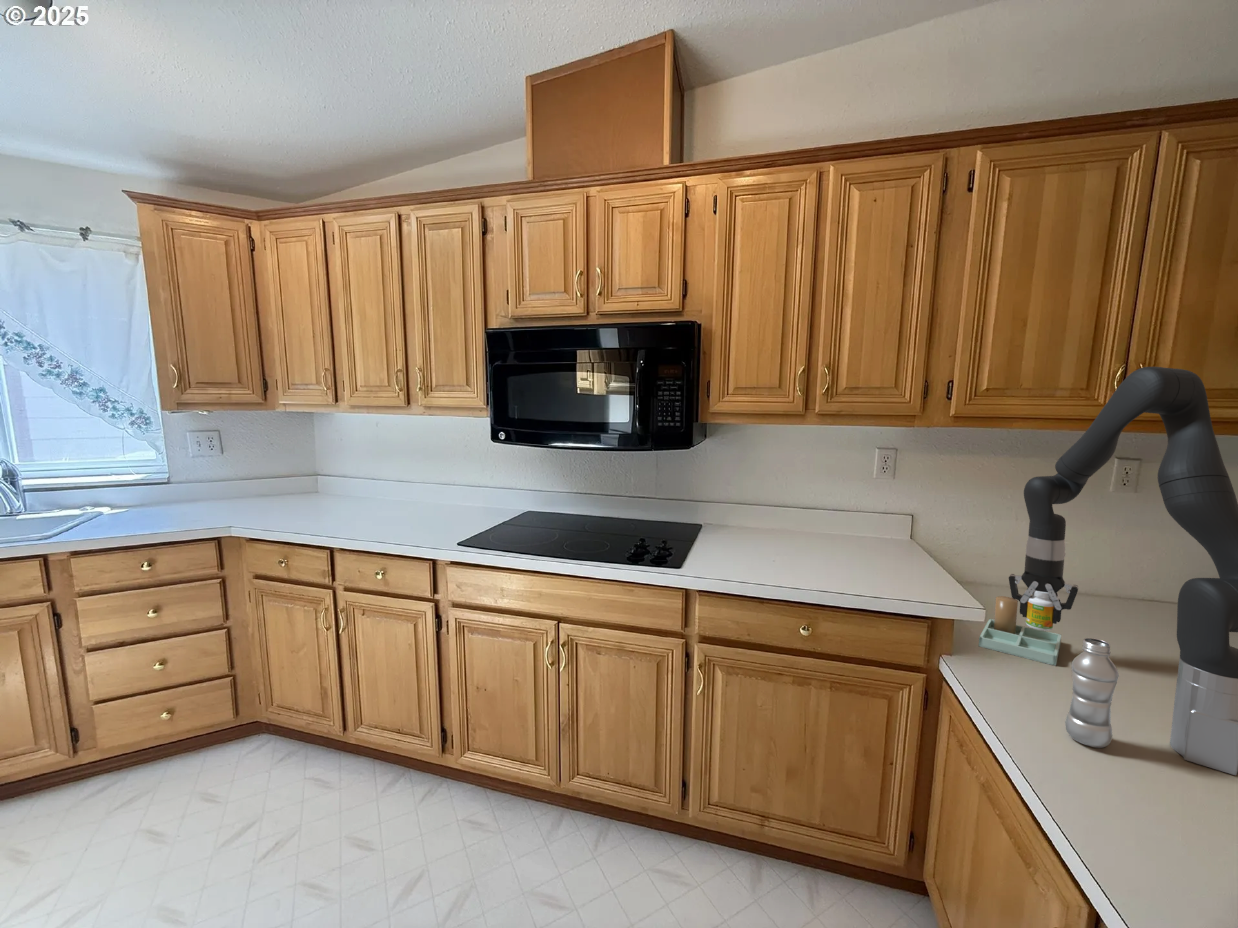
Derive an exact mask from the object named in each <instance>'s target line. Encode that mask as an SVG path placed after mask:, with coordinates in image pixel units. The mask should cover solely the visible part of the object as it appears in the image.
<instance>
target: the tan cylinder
mask: <svg viewBox="0 0 1238 928" xmlns="http://www.w3.org/2000/svg"><path fill="white" fill-rule="evenodd" d="M1018 602H1019V600H1017V599H1013V598H1012V597H1010V596H1002V595H1001V596H1000V595H999V596H996V597H995V608H994V620H995V621H994V630H999V631H1003V632H1007V633H1012V634H1015V633H1016V625H1017V618H1018V606H1019V605H1018V604H1019V603H1018Z"/></svg>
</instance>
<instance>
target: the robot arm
mask: <svg viewBox="0 0 1238 928" xmlns="http://www.w3.org/2000/svg"><path fill="white" fill-rule="evenodd" d="M1208 400H1209V399H1208V395H1207V391H1206V387H1205V384H1204V383H1203V380H1202V378H1201V377H1200V376H1199V375H1198V374H1196V373H1194V372H1193V371H1190V370H1188V369H1182V368H1171V367H1162V366H1145V367H1144V366H1143V367H1141V368H1140V367H1139V368H1137V369H1136V370H1134V371H1132V372H1131V373H1130V374H1129V375H1127V376H1126V377H1125V379H1124V380H1122V382H1121V383H1120V384H1119V386H1118V387H1117V388H1116V389H1115V391H1114V392H1113V393H1112V395H1111V397H1109V399H1108V400H1107V402H1106V403H1105V405H1104V406H1103V407H1102V409H1101V410H1100V412H1099V413H1098V414H1097V416H1096V418H1095V419H1094V420H1093V421H1092V423H1091V424H1090V426H1089V427H1088V428H1087V429H1086V430H1085V432H1084V433H1083V434H1082V435H1081V436H1080V438H1079V439H1077V441H1076V442H1075V443H1073V445H1071V446H1070V448H1068V450H1065V452H1064V453H1063V454H1062V455H1061V456H1060V457H1059V458H1058V459H1057V461H1055V464H1054V468H1055V469H1054V470H1055V471H1056V472H1057V473H1056V474H1055V475H1045V476H1044V475H1043V476H1042V475H1041V476H1034V477H1032V478H1030V479H1029V480H1027V481H1026V484H1025V486H1024V488H1023V499H1024V503H1025V507H1026V511H1027V515H1028V519H1029V525H1028V536H1027V540H1026V544H1025V545H1026V546H1025V558H1024V559H1025V561H1024V571H1023V573H1022V574H1021V575H1020V574H1019V575H1016V574H1015V573H1011V574H1009V576H1008V583H1009V588H1010V595H1011V598H1013V599H1016V600H1017V601H1018V602H1019V615H1022V617H1023V618H1026V612H1027V600H1028V598H1029V597H1030V596H1031V595H1032V593H1033V591H1034V590H1037V591H1042V592H1048V593H1049V595H1050V599H1051V600H1052V602H1053V604H1054V606H1055V607H1054V614H1053V625H1057V624H1058V623H1060V622H1061V620H1062V611H1063V610H1067V611H1069V610H1072V607H1073V606H1074V605H1073V604H1074V602H1075V600H1076V596H1077V594H1078V592H1079V586H1078V585H1077V584H1070V583H1067V582H1066V581H1065V580H1064V568H1065V567H1064V566H1065V558H1066V543H1065V541H1066V540H1065V537H1066V525H1067V524H1066V522H1067V520H1066V519H1065V517H1064V516H1062V515H1060V514H1058V513H1055V512H1054V508H1053V505H1061V504H1062V505H1063V504H1067V503H1069V502H1071V501H1073V500H1074V499H1075V498H1077V497H1078V496H1079V494H1080V493H1081V492H1082V490H1083V489H1084V487H1085V485H1086V484H1087V482H1088V480H1089V479H1090V477H1092V476H1093V475H1095V473H1097V472H1098V471H1099V470H1100V469H1101V468H1102V467H1104V465H1105V464H1106V463H1108V462H1109V460H1110V459H1111V458H1112V457H1113V456H1114V454H1115V452H1116V449H1117V446H1118V441H1119V438H1120V435H1121V433H1122V431H1123V430H1124V429H1125V428H1126V427H1127V426H1128V425H1129V424H1130V423H1131V422H1132V421H1134V420H1135V419H1137V418H1138V417H1139V416H1141V415H1143V414H1144V413H1146V414H1157V415H1159V416H1160V418H1161V420H1162V423H1163V425H1164V429H1165V433H1166V436H1167V446H1166V449H1165V452H1164V454H1163V458H1162V459H1161V461H1160V465H1159V467H1158V469H1157V470H1158V472H1157V483H1158V487H1159V491H1160V494H1161V497H1162V501H1163V505H1164V506H1165V509H1166V511H1167V513H1168V514H1169V516H1170V517H1171V518H1172V519H1173V520H1174V521H1175V522H1176V523H1177V524H1178V525H1179V526H1180V527H1181V528H1182V529H1183V530H1184V531H1185V532H1187V533H1188V534H1189V536H1191V537H1192V538H1193V539H1195V540H1196V542H1197V543H1199V545H1201V546H1202V548H1203V549H1204V550H1205V551H1206V552H1207V553H1208V555H1209V556H1210V558H1211V560H1212V562H1213V565H1214V566H1215V568H1216V571H1217V574H1218V577H1194V578H1191V579H1188V580H1187V581H1185V582H1184V583H1183V584H1182V585H1181V587H1180V590H1179V593H1178V597H1177V611H1176V614H1177V615H1176V618H1177V620H1176V640H1177V644H1178V646H1179V659H1178V660H1179V661H1178V667H1177V668H1178V670H1177V678H1176V686H1175V695H1174V702H1173V703H1174V704H1173V709H1172V710H1173V712H1172V720H1171V731H1170V739H1169V740H1170V741H1169V745H1170V747H1171V748H1172V749H1173V750H1174V751H1175V752H1177V753H1178V754H1179V755H1181V756H1182V757H1183V760H1185V761H1188V762H1190V763H1194V764H1197V765H1200V766H1202V767H1203V766H1204V767H1208V768H1210V769H1213V770H1216V771H1219V772H1223V773H1226V774H1229V775H1232V776H1237V775H1238V648H1237V647H1233V646H1231V645H1230V644H1231V643H1230V633H1238V500H1237V497H1236V493H1235V490H1234V487H1233V484H1232V482H1231V479H1230V478H1231V477H1230V476H1229V473H1228V471H1227V469H1226V466H1225V463H1224V460H1223V457H1222V455H1221V451H1220V448H1219V444H1218V441H1217V438H1216V435H1215V431H1214V428H1213V422H1212V418H1211V413H1210V407H1209V406H1210V405H1209V401H1208ZM1021 581H1022V582H1023V583H1024V585H1025V586H1026V587H1027V588H1026V589H1025V591H1024V593H1023V594H1020V593H1019V590H1018V589H1019V588H1018V584H1020V582H1021ZM1063 588H1065V592H1066V593H1067V594H1068V596H1067V599H1066V602H1062V601H1061V598H1060V595H1059V593H1058V592H1060V591H1061V590H1063Z"/></svg>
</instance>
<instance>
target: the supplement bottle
mask: <svg viewBox="0 0 1238 928" xmlns="http://www.w3.org/2000/svg"><path fill="white" fill-rule="evenodd" d="M1054 607H1055V606H1054V604H1053V602H1052V600H1051V598H1050V595H1049V593H1048V592H1042V591H1037V590H1034V591H1033V593H1032V594H1031V596H1030V597H1029V598H1028V600H1027V612H1026V617H1025V624H1026V625H1027V626H1026V627H1029V628H1033V629H1037V630H1042V631H1047V632H1051V631H1052V630H1053V627H1054V623H1053V614H1054Z"/></svg>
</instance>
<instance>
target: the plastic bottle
mask: <svg viewBox="0 0 1238 928" xmlns="http://www.w3.org/2000/svg"><path fill="white" fill-rule="evenodd" d="M1081 649H1082V650H1083V651H1082V652H1081V653H1079V654H1078V655H1077V656H1076V657H1074V658H1073V660H1072V662H1071V676H1072V697H1071V702H1070V707H1069V710H1068V711H1067V714H1066V718H1065V721H1064V723H1065V730H1066V733H1067V734H1068V735H1069V737H1070V738H1072V740H1074V741H1076V742H1078V743H1080V744H1083V745H1084V746H1088V747H1092V748H1097V749H1098V748H1099V749H1101V748H1105V747H1107V746H1109V745H1111V741H1112V740H1113V726H1112V724H1111V723H1112V722H1111V717H1112V715H1111V713H1112V712H1111V707H1112V701H1113V696H1114V692H1115V689H1116V687H1117V683H1118V680H1119V677H1120V675H1119V671H1118V668H1117V667H1116V665H1115V664H1114V662H1113V661H1112V660H1111V658H1110V656H1111V644H1110V643H1109V642H1107V641H1105V640H1102V639H1098V638H1094V637H1093V638H1092V637H1085V638H1083V640H1082V645H1081Z"/></svg>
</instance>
